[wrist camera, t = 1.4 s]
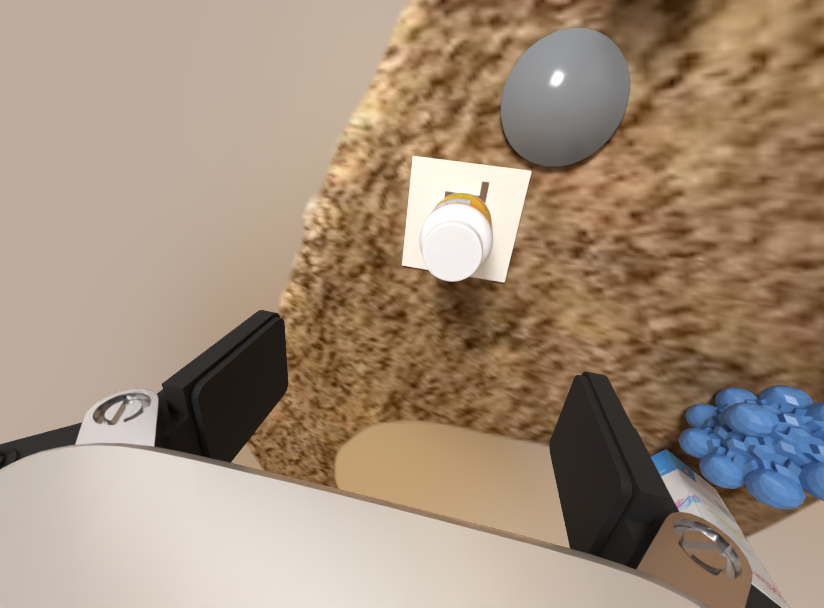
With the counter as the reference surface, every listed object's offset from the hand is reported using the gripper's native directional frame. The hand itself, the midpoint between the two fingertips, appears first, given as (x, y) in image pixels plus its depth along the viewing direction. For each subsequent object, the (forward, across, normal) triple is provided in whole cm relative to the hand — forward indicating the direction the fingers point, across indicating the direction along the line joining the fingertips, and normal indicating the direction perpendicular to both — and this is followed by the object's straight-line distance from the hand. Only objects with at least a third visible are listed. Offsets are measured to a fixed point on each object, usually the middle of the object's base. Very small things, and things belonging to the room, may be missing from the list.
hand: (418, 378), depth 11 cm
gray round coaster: (+23, -6, -10) cm, 26 cm away
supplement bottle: (+23, 0, 0) cm, 23 cm away
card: (+23, 0, 0) cm, 23 cm away
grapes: (+23, -27, +12) cm, 38 cm away
